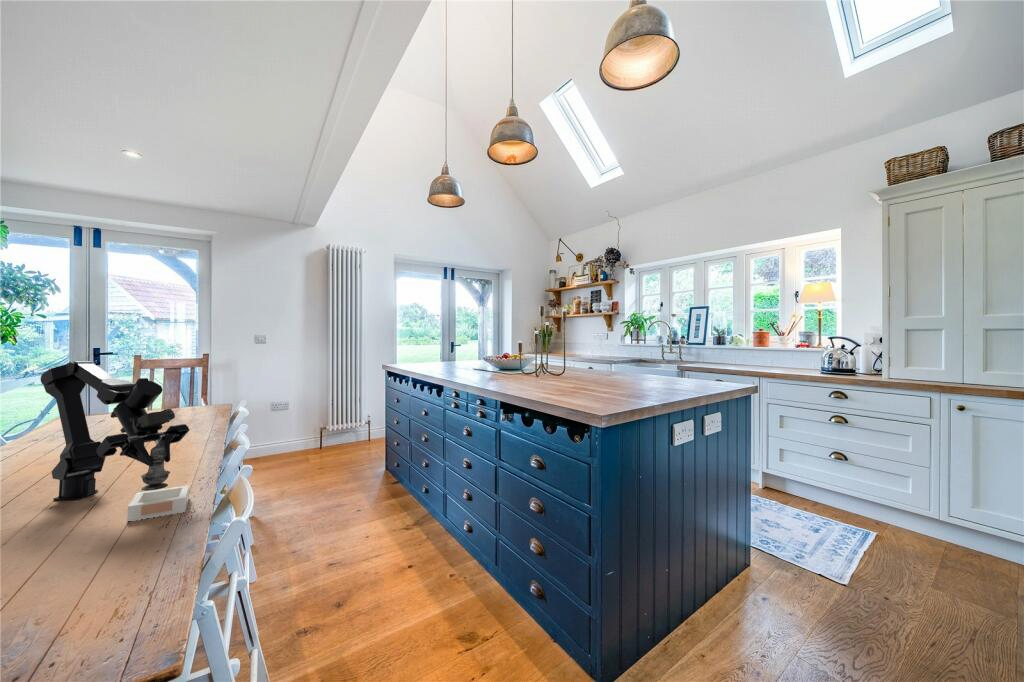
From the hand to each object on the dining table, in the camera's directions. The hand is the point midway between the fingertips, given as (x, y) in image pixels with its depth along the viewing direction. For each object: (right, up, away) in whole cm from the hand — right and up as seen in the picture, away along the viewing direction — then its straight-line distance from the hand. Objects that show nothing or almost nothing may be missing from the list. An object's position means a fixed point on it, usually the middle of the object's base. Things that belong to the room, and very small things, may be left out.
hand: (160, 463), depth 103 cm
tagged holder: (-1, -13, +1) cm, 13 cm away
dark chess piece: (-2, -7, 0) cm, 7 cm away
